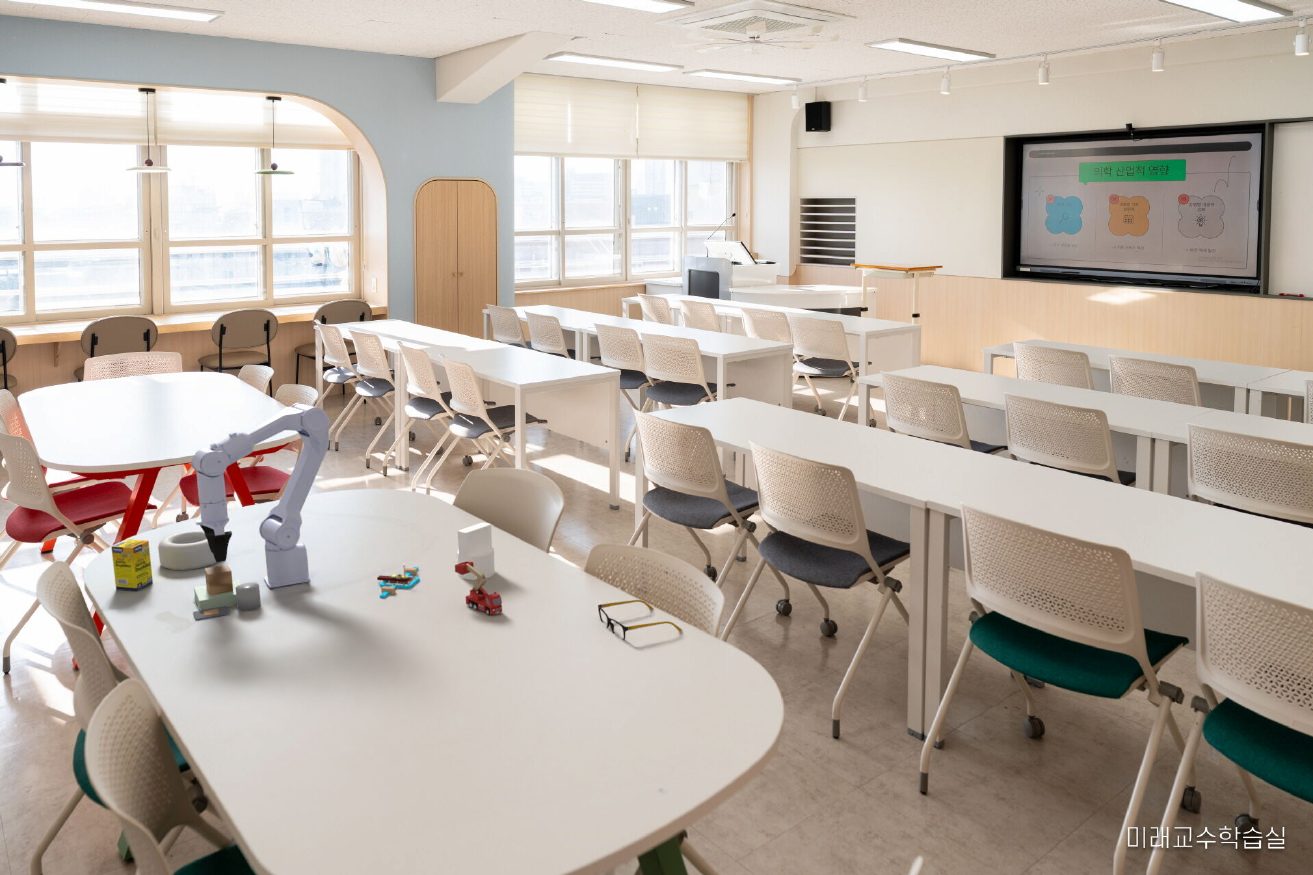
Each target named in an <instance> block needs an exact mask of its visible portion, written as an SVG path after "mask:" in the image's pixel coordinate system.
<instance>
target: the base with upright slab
mask: <svg viewBox="0 0 1313 875" xmlns="http://www.w3.org/2000/svg"><path fill="white" fill-rule="evenodd" d="M457 542H458V549H457V552H456V556H457V558H456V559H457V564H460V563H463V562H468V561H469V562H473V563H474V567H473V568H475V569H476V570H477V571H479V572H480V573H481V574H484V575H485V577H486V579H488V578H491V577H493V576H494V575H495V572H496V570H495V549H494V548H493V546H492V544H493V543H492V542H493V541H492V524H491V523H488V522H483V521H482V522H480V523H479V522H478V523H476V524H474V525H471V526H468V527H464V528H462V529H459V530H457ZM457 576H458V577H459V578H460V579H463V580H470V581H471V580H472V581H476V579H477V576H475V575H474V574H473V573H472V572H470V573H467V574H464V575H461V574H459V573H457Z"/></svg>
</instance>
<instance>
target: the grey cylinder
mask: <svg viewBox="0 0 1313 875" xmlns="http://www.w3.org/2000/svg"><path fill="white" fill-rule="evenodd" d="M260 590H261V589H260V585H259V583H257V582H245V583H241V585H238V586H237V587H236V598H237V605H236V606H237V610H238V611H240V612H251V611H252V612H253V611H255V610H258V609H260V608H261V606H262V602H261V594H260V593H261V592H260Z"/></svg>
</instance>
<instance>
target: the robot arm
mask: <svg viewBox="0 0 1313 875" xmlns="http://www.w3.org/2000/svg"><path fill="white" fill-rule="evenodd" d="M331 423H332V421H331V420H330V417H329V416H328V414H327V412H326V411H325V410H324V409H323V408H321V407H318V406H312V405H310V404H307V403H304V402H296V403H294V404H292V405H291V406H287V407H285V408H283V409H282V410H281V411H279V412H278V413H277V414H275V415H274V416H272V417H270V418H269V419H267V420H265V421H263V423H260V424H259V425H258V426H256V427H254V428H252V429H250V430H249V431H247V432H243V431H236V432H235V431H231V432H229V433H228V437H225V438H224V439H222V440H220V441H219V442H217V443H215V442H213V443H211V444H209V446H210V447H209V448H208V447H207V448H205V447H204V448H201V449H199V450H197V451H196V452H195V453H194V455H193V457H192V461H190V466H191V468H192V470H194V471H195V472H196V480H197V481H196V482H197V484H196V485H197V491H198V492H197V493H198V501H199V511H200V519H197V520H195V525H197V526H200V528H201V530H203V531H204V533H205V537H206V538H207V541H208V544H209V548H210V550H211V552H212V553H213V555H214V558H215V560H216V562H217V563H222V562H226V561H227V556H228V548H229V543H230V540H231V538H232V535H233V532H232V531H231V530H229V531H225V527H226V525H227V524H228V523H229V521H230V518H229V514H228V504H227V495H226V494H227V493H226V486H225V485H226V484H225V476H224V472H226V469H227V467H228V466H231V465H232V464H235V463H236V462H237V461H239V460H241V459H243V458H244V457H246V456H248V455H250V454H252V453H253V452H254V448H255V446H256V445H258V444H260V443H261V442H264V441H266V440H267V439H270V438H273V437H274V436H276V435H277V434H280V433H283V432H284V431H295V432H297V433H298V434H299V437H300V439H301V441H302V444H303V447H302V450H301V452H300V454H299V456H298V459H297V461H296V462H295V463H296V464H295V466H294V468H293V469H292V470H293V471H292V472H291V474H290V477H289V479H288V482H287V484H286V486H285V488H284V491H283V494H282V496H281V497H280V500H279V503H278V504H277V505H276V506H274V507H273V508H271V510H270V511H269V513H268V515H267V516H266V517H265V518H264V519H263V520H262V521H261V522H260V525H259V528H258V529H259V530H258V531H259V532H258V533H259V535H260V537H261V538H262V539H263V540H264V543H265V544H264V552H265V554H264V555H265V563H266V572H267V573H266V576H264V577H263V579H264V582H265V583H266V585H267V587H268V588H269V589H271V588H272V589H273V588H278V587H284V586H291V585H297V584H304V583H307V582H308V583H309V582H310V573H309V562H308V561H309V560H308V552H307V548H306V544H305V543H304V542H299V540H300V537H301V533H300V532H301V531H300V530H301V526H302V524H303V520H302V515H301V512H302V510H303V507H304V505H305V502H306V499H307V498H308V496H309V493H310V491H311V488H312V486H313V484H314V481H315V479H316V477H317V475H318V473H319V471H320V468H321V465H322V462H323V461H324V458H325V456H326V454H327V452H328V449H329V446H330V435H329V434H330V431H329V428H330V425H331ZM298 542H299V543H298Z"/></svg>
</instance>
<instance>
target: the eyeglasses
mask: <svg viewBox="0 0 1313 875" xmlns="http://www.w3.org/2000/svg"><path fill="white" fill-rule="evenodd" d="M632 603H641V604H642V603H643V604H644V605H645V606H646V607H647V608H648V609H649V610H653V609H654V607H652V606H651V605H650V604H649V603H647V602H646V601H644V600H641V599H634V600H626V601H625V600H624V601H616V602H610V603H608V602H607V603H601V604H598V605H597V609H598V615H599V619H600V622H601V623H603V617H602V613H603V614H604V615H605V618H606V629H609V627H610V630H611V632H612V634H616V633H615V625H614V623H616V624H617V625H619V626H620V627H621V629H622V634H623V638H621V640H622V641H625V640H626V632H628V631H634V630H637V629H642V628H646V627H647V628H648V627H651V626H659V625H663V624H669V625H671V626H673V627H674V628H675V629H676V630H677V631H678V632H682V631H683V629H682V628H681V627H679V626H678V625H677V624H675V623H674V622H672V621H668V620H667V621H658V622H651V623H650V622H649V623H645V624H644V623H643V624H636V625H631V626H625V625H624V624H622V623H620V622H619V621H617V620H616V619H614V618H611V617H609V615H608V614H607V613H606V611H605V610H604V608H609V607H614V606H619V605H625V604H632ZM601 612H602V613H601ZM612 621H613V622H614V623H613V622H612Z"/></svg>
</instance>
